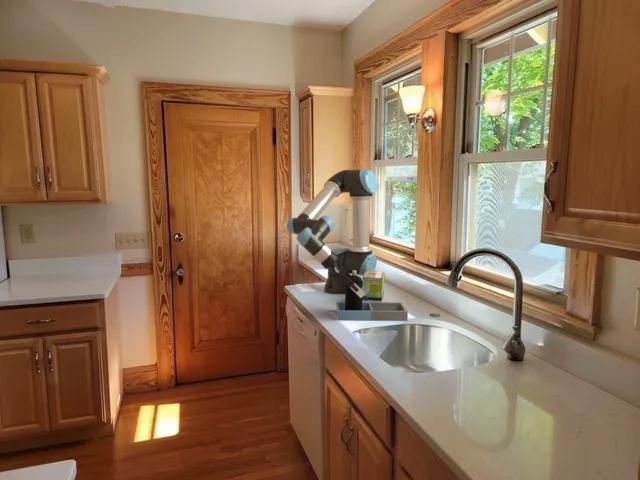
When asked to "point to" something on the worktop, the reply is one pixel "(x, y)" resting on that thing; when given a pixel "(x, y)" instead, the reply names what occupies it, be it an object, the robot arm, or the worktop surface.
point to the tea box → (373, 286)
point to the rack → (374, 311)
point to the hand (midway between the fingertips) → (362, 292)
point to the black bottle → (353, 294)
